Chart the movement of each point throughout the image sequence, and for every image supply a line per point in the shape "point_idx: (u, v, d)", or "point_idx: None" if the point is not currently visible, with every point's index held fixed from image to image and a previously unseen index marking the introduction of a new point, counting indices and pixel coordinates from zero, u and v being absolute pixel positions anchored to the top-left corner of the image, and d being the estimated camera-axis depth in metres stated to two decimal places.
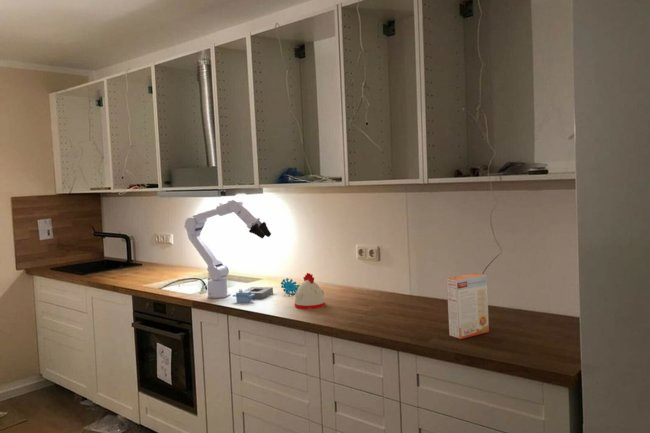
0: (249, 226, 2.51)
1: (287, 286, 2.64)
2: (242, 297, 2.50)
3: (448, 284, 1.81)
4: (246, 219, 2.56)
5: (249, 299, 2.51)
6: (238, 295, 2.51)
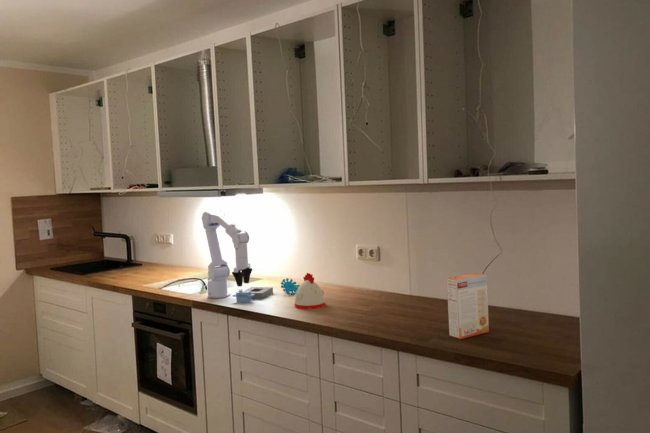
0: (235, 271, 2.44)
1: (287, 286, 2.65)
2: (242, 297, 2.50)
3: (448, 284, 1.81)
4: (238, 259, 2.48)
5: (249, 299, 2.51)
6: (238, 295, 2.51)
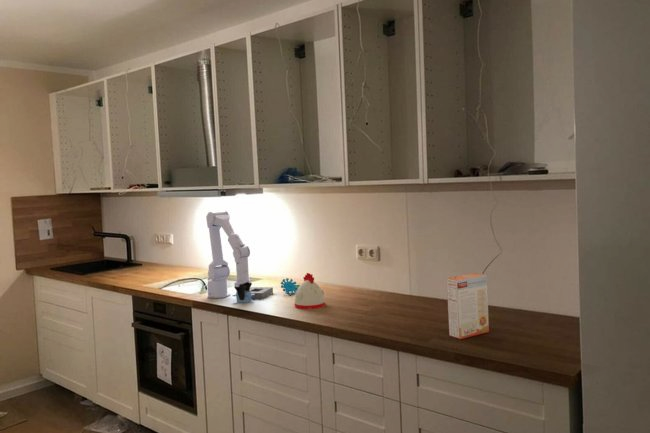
0: (236, 285, 2.45)
1: (287, 286, 2.65)
2: None
3: (448, 284, 1.81)
4: (239, 273, 2.49)
5: (249, 299, 2.51)
6: None
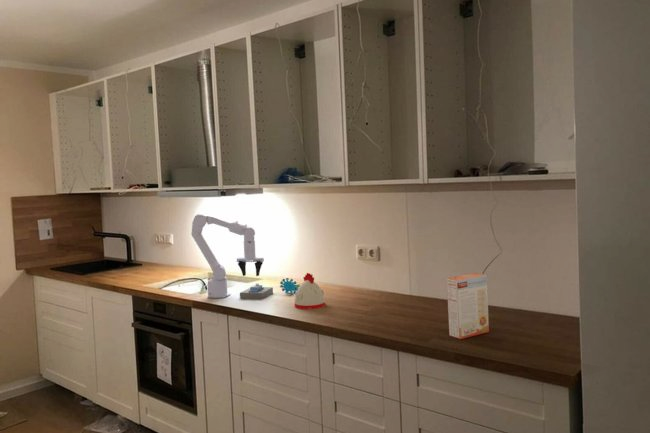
0: None
1: (286, 286, 2.66)
2: None
3: (448, 284, 1.81)
4: None
5: None
6: None
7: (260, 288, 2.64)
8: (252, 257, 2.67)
